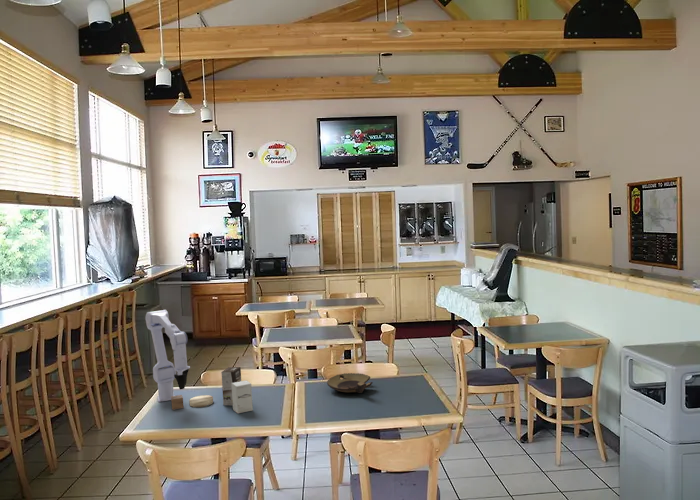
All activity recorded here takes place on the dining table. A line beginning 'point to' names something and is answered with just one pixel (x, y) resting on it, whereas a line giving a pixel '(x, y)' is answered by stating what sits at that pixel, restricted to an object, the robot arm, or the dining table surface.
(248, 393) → the supplement box
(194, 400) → the birch board
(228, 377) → the coffee box
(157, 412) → the dining table surface
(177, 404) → the walnut block
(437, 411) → the dining table surface
